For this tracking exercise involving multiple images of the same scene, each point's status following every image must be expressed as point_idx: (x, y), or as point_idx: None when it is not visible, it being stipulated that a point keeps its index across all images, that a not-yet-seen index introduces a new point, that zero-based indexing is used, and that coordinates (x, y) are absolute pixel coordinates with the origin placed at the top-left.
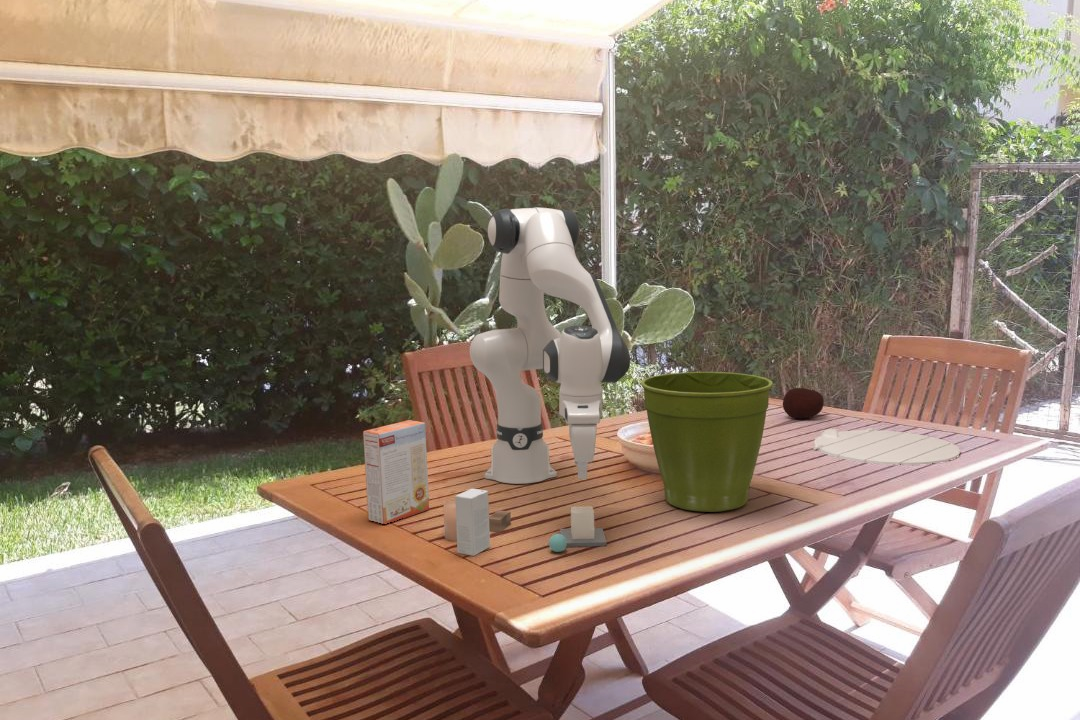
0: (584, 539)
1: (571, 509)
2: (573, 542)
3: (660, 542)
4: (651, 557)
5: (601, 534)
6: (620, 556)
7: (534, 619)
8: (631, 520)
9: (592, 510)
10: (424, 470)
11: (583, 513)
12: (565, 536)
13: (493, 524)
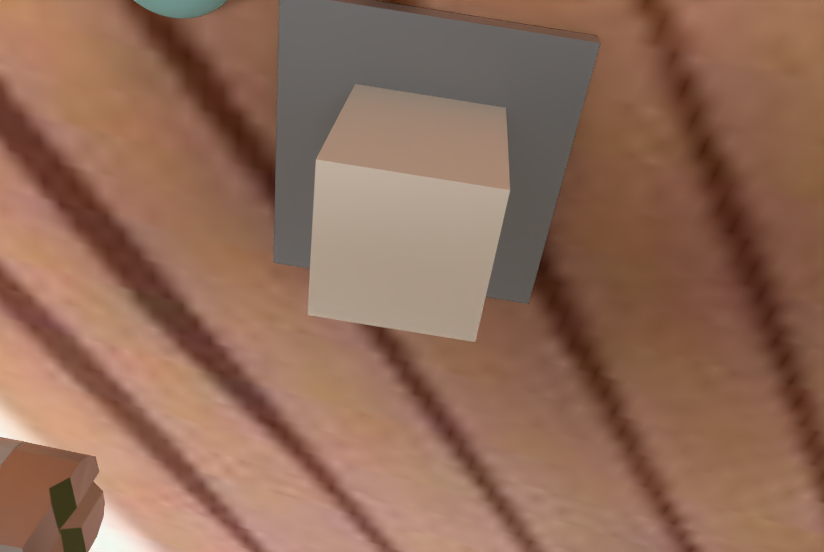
0: None
1: (428, 178)
2: (287, 75)
3: (304, 466)
4: (111, 385)
5: None
6: (119, 272)
7: None
8: (657, 457)
9: (367, 318)
10: None
11: (312, 243)
12: (420, 47)
13: None
